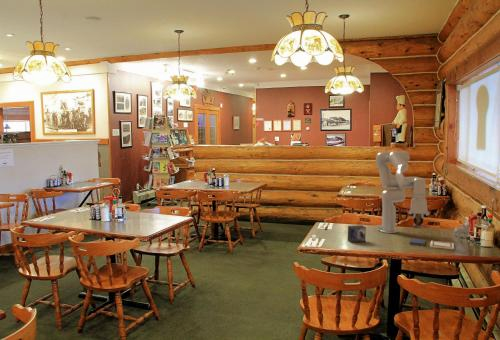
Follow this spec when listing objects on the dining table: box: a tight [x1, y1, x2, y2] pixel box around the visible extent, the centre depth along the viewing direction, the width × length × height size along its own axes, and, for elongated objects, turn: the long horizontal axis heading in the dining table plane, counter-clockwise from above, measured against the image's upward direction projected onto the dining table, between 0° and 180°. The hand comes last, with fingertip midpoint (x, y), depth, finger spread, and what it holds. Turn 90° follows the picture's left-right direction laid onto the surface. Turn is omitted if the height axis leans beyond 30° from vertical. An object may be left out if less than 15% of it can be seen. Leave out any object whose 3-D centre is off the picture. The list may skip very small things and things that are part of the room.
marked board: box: [429, 240, 455, 250], centre depth 277 cm, size 14×14×1 cm
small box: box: [347, 224, 367, 244], centre depth 287 cm, size 11×6×10 cm, turn 101°
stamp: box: [412, 214, 424, 230], centre depth 282 cm, size 6×6×12 cm
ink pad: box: [409, 238, 426, 247], centre depth 283 cm, size 9×12×2 cm
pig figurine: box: [454, 221, 470, 239], centre depth 299 cm, size 5×13×11 cm, turn 97°
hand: (418, 223), depth 282 cm, fingers closed on stamp, 3 cm apart
